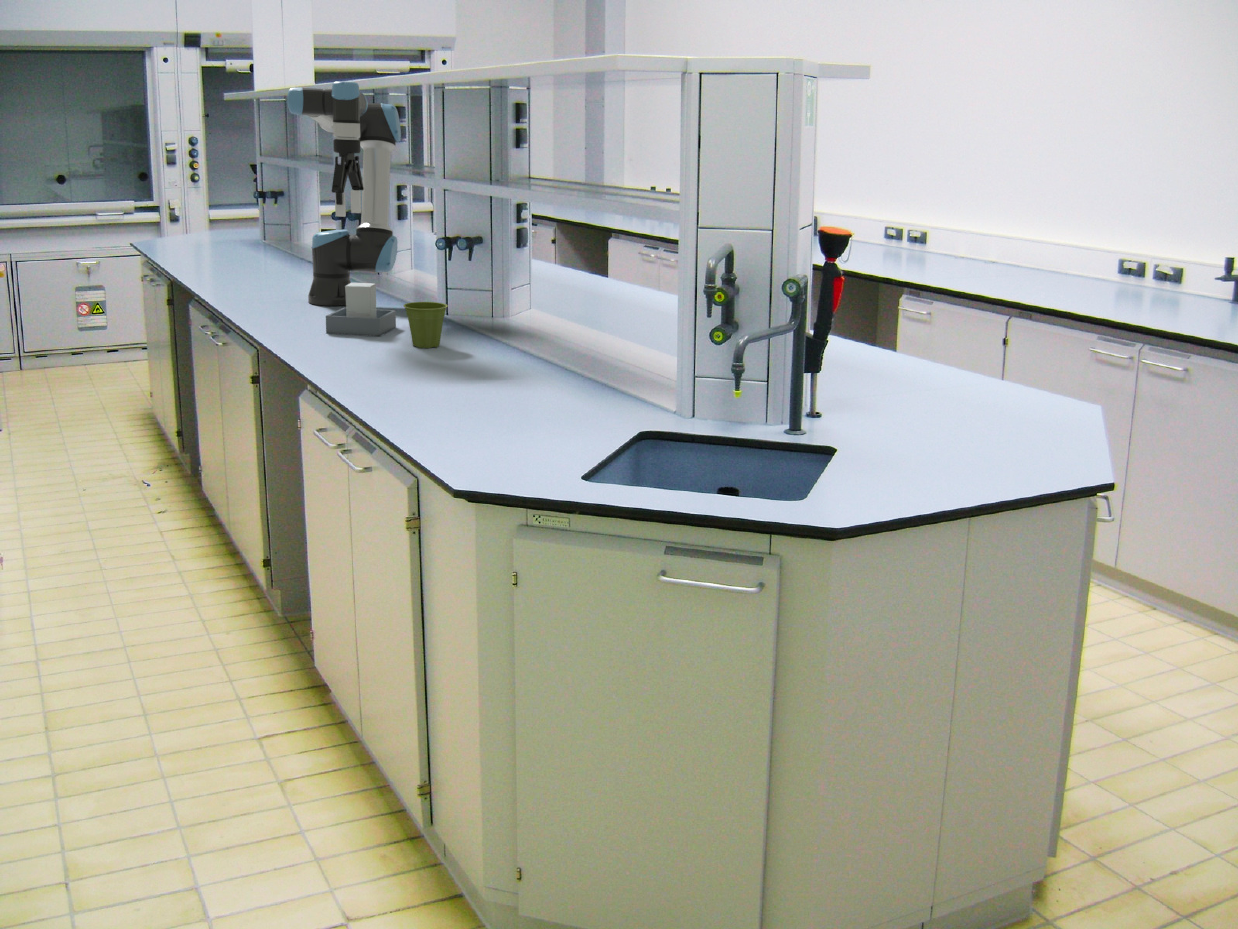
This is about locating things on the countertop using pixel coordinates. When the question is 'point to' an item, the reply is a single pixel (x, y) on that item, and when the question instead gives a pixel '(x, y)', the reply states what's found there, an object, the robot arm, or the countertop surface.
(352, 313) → the supplement box
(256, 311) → the countertop surface
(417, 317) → the plant pot
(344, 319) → the grey bin
